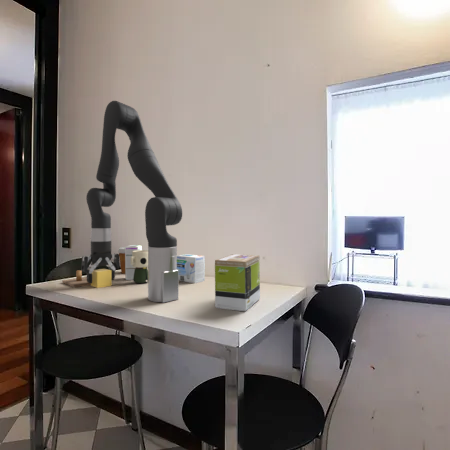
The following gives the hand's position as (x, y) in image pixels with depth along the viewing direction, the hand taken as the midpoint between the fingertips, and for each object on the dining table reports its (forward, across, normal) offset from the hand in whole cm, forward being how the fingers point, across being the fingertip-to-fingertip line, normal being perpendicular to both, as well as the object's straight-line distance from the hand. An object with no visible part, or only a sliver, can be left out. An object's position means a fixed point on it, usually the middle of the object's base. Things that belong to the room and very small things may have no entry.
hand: (101, 281), depth 121 cm
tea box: (+2, +18, -55) cm, 58 cm away
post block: (+2, -4, +10) cm, 11 cm away
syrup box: (+2, +16, +3) cm, 16 cm away
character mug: (+2, +14, -6) cm, 15 cm away
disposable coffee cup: (+2, +22, +18) cm, 28 cm away
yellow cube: (+2, 0, 0) cm, 2 cm away
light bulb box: (+2, +31, -17) cm, 35 cm away
